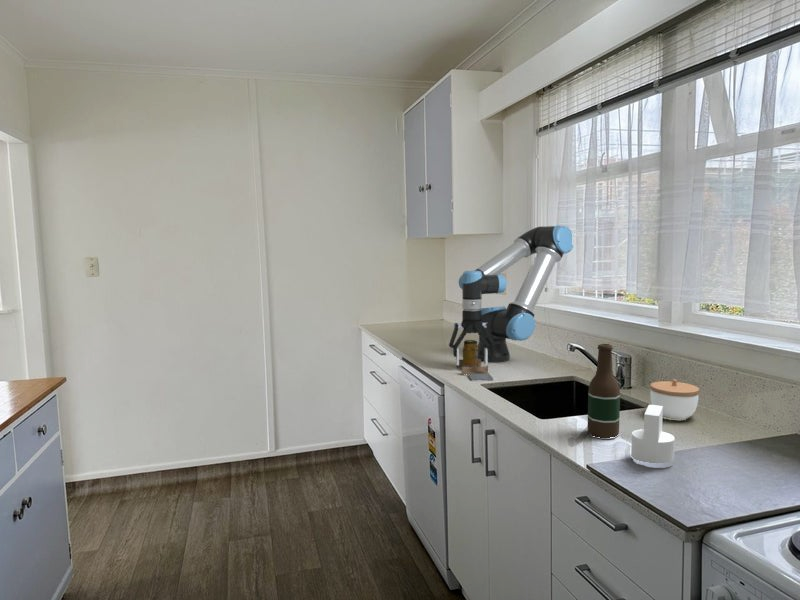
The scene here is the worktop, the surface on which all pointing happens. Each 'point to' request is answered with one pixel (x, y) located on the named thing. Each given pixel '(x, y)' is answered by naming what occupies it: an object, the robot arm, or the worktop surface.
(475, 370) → the rack
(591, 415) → the beer bottle
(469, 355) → the condiment
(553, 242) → the robot arm
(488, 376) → the coaster
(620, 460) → the worktop surface
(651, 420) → the base with upright slab
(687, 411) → the lidded bowl
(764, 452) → the worktop surface
